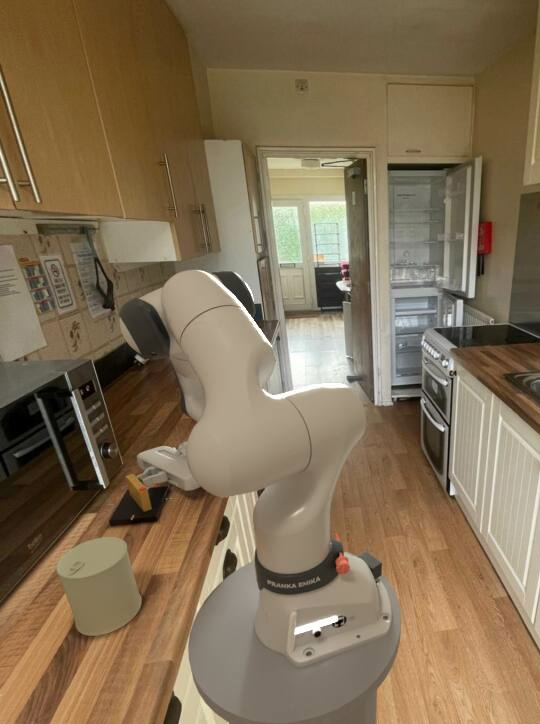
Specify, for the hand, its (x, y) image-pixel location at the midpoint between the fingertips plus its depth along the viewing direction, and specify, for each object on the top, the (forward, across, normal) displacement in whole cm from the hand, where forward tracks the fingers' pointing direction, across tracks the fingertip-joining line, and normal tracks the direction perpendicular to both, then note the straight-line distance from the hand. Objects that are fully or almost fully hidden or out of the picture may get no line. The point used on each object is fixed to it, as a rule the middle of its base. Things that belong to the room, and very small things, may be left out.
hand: (140, 481), depth 95 cm
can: (+20, +25, +6) cm, 33 cm away
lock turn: (+1, +2, +4) cm, 4 cm away
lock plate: (+2, +2, +5) cm, 6 cm away
